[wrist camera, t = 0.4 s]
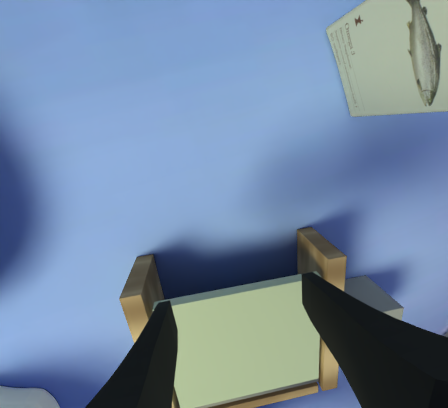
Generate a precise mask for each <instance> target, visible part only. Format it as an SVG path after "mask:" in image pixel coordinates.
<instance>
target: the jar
mask: <svg viewBox="0 0 448 408" xmlns="http://www.w3.org/2000/svg"><path fill="white" fill-rule="evenodd" d="M0 408H60V407H59V405H58V403H57V401H56V399H55V398H54V397H53V396H52V395H51V394H50V393H49V392H47V391H46V390H45V389H40V388H12V387H5V386H0Z"/></svg>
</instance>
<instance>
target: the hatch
mask: <svg viewBox="0 0 448 408" xmlns="http://www.w3.org/2000/svg"><path fill="white" fill-rule="evenodd" d="M313 273H315V274H317V275H318V276H320V274H319V273H318V272H317V271H314V272H313ZM320 277H321V276H320ZM321 278H322V277H321ZM169 300H170V302H171V306H172V310H173V314H174V317H175V321H176V325H177V329H178V353H177V362H176V371H175V380H174V387H175V391H176V394H177V398H178V401H179V405H180V408H208V407H212V406H216V405H221V404H225V403H229V402H233V401H238V400H242V399H246V398H250V397H255V396H259V395H263V394H267V393H271V392H276V391H280V390H284V389H288V388H293V387H297V386H301V385H305V384H310V383H314V382H318V381H319V379H318V378H319V346H320V335H319V333H318V332H317V330H316V329H315V327H314V326H313V324H312V322H311V321H310V319H309V317H308V315H307V313H306V311H305V309H304V306H303V304H302V274H298V275H293V276H287V277H282V278H277V279H272V280H266V281H261V282H256V283H251V284H245V285H240V286H235V287H230V288H224V289H219V290H214V291H209V292H203V293H198V294H193V295H188V296H182V297H177V298H172V299H167V300H161V301H156V302H154V305H153V311H154V309H155V307H156V305H157V304H158V303H159V302H164V301H169Z"/></svg>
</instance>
